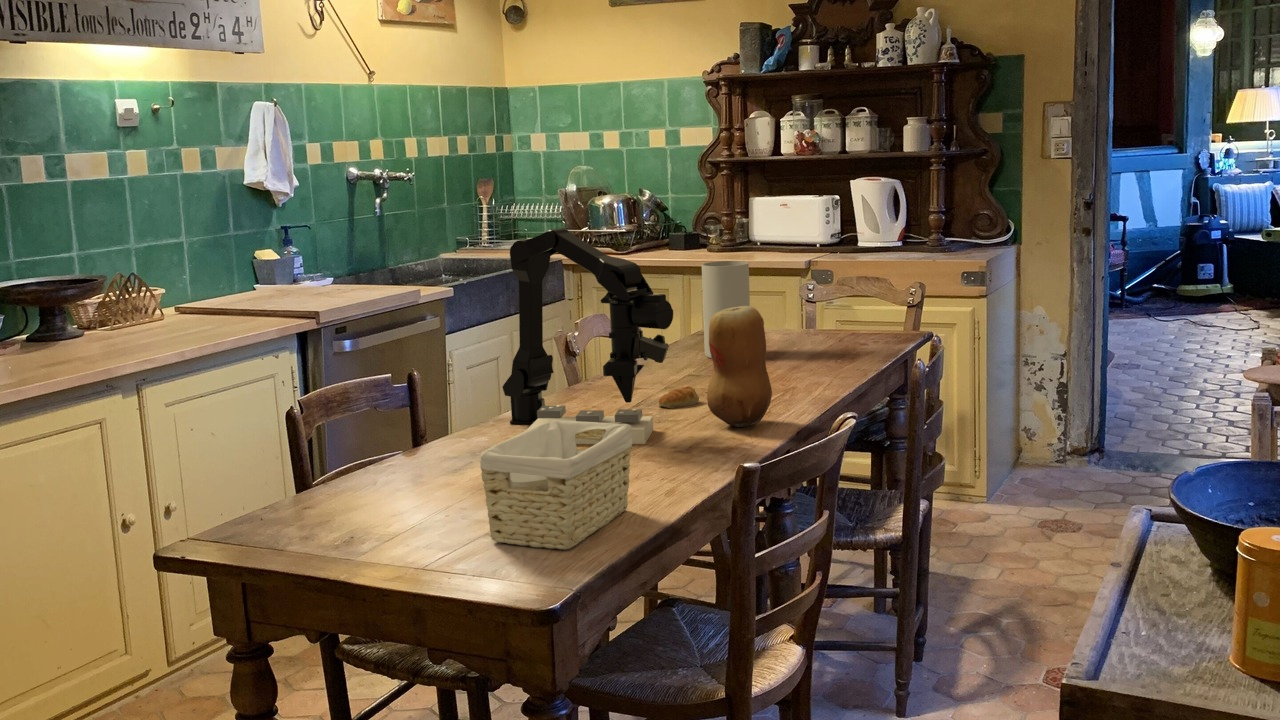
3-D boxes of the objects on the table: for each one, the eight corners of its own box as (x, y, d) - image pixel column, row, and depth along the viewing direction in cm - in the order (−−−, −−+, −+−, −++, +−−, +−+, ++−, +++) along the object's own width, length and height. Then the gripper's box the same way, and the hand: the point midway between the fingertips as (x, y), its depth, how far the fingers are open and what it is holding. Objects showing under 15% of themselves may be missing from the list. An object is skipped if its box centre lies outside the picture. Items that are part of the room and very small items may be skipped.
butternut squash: (697, 423, 256) (693, 306, 252) (753, 415, 261) (750, 299, 257) (728, 437, 244) (724, 314, 239) (786, 428, 249) (783, 307, 244)
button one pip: (576, 423, 246) (575, 415, 246) (581, 417, 251) (580, 409, 251) (599, 423, 246) (599, 415, 245) (604, 417, 250) (603, 409, 250)
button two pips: (614, 422, 245) (614, 413, 245) (619, 416, 250) (618, 408, 249) (638, 422, 244) (638, 413, 244) (642, 416, 249) (642, 408, 249)
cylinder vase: (753, 359, 323) (750, 265, 318) (705, 361, 323) (702, 267, 318) (749, 350, 335) (746, 259, 330) (703, 352, 335) (700, 261, 330)
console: (527, 444, 246) (526, 429, 245) (540, 430, 256) (539, 416, 256) (644, 444, 242) (644, 429, 241) (653, 430, 252) (652, 416, 252)
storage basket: (553, 500, 208) (548, 416, 205) (640, 508, 202) (636, 422, 199) (480, 546, 187) (473, 453, 184) (574, 557, 180) (569, 460, 177)
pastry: (672, 411, 269) (671, 394, 268) (651, 407, 274) (650, 391, 273) (701, 403, 275) (701, 387, 275) (680, 399, 280) (679, 383, 280)
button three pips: (537, 418, 248) (536, 410, 247) (543, 412, 252) (542, 404, 252) (560, 418, 247) (560, 410, 246) (565, 412, 251) (565, 404, 251)
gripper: (657, 333, 233) (661, 412, 236) (671, 317, 251) (674, 391, 254) (600, 334, 235) (604, 413, 238) (618, 318, 253) (621, 392, 256)
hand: (628, 402), depth 246 cm, fingers closed
